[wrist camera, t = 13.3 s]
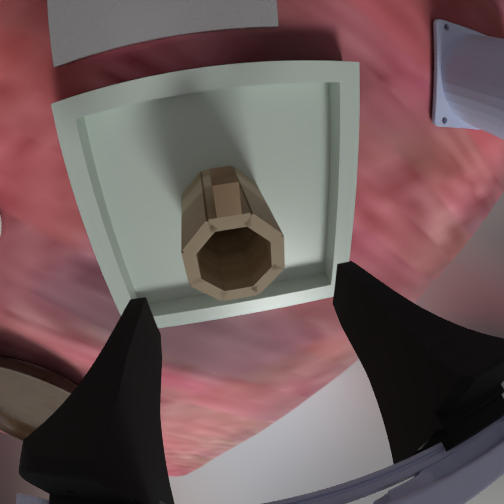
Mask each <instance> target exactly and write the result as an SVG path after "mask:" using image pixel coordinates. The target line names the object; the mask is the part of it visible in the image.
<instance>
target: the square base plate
mask: <svg viewBox="0 0 504 504" xmlns="http://www.w3.org/2000/svg"><path fill="white" fill-rule="evenodd" d="M47 6H48V21H49V32H50V42H51V50H52V58H53V65H54V67H60V66H63V65H66V64H68V63H71V62H74V61H77V60H80V59H84V58H87V57H90V56H93V55H97V54H100V53H104V52H107V51H111V50H115V49H119V48H123V47H127V46H131V45H135V44H140V43H144V42H149V41H154V40H159V39H165V38H170V37H176V36H182V35H189V34H196V33H204V32H213V31H223V30H235V29H251V28H275V27H278V14H277V2H276V0H47Z"/></svg>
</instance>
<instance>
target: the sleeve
mask: <svg viewBox="0 0 504 504" xmlns="http://www.w3.org/2000/svg"><path fill="white" fill-rule="evenodd" d="M181 254H182V258H183V262H184V266H185V270H186V275H187V279H188V283H189V284H190V286H191V287H193V288H195V289H197V290H199V291H201V292H203V293H205V294H207V295H209V296H211V297H213V298H215V299H217V300H219V301H221V300H222V301H227V300H233V299H239V298H244V297H250V296H255V295H258V293H259V294H260V293H261V292H262V291H263V290H264V289H265V288H266V287H267V286H268V285H269V284H270V283H271V282H272V281H273V280H274V279H275V278H276V277H277V276H278V275H279V274H280V273H281V272H282V271H283V270H284V269H283V268H285V255H284V235H283V233H282V231H281V229H280V227H279V226H278V224H277V222H276V220H275V218H274V216H273V214H272V212H271V210H270V208H269V207H268V205H267V203H266V201H265V199H264V197H263V195H262V193H261V191H260V190H259V188H258V186H257V184H256V183H255V182H254V181H253V180H251V179H250V178H249V177H247V176H246V175H245V174H243V173H242V172H240V171H239V170H238V169H236V168H235V167H234V166H233V167H232V166H225V167H218V168H212V169H208V170H202V173H201V172H199V173H198V175H197V176H196V177H195V178H194V180H193V181H192V182H191V184H190V185H189V186H188V188H187V189H186V190H185V191H184V193H183V194H182V220H181Z"/></svg>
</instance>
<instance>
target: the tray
mask: <svg viewBox="0 0 504 504" xmlns="http://www.w3.org/2000/svg"><path fill="white" fill-rule="evenodd" d="M359 105H360V80H359V62H350V61H331V60H283V61H261V62H246V63H235V64H225V65H216V66H207V67H200V68H193V69H186V70H180V71H174V72H168V73H163V74H158V75H153V76H148V77H143V78H139V79H134V80H130V81H126V82H121V83H117V84H113V85H110V86H106V87H102V88H99V89H95V90H92V91H88V92H85V93H82V94H78V95H75V96H72V97H69V98H66V99H63V100H60V101H58V102H55V103H52V104H51V106H52V111H53V116H54V120H55V125H56V129H57V134H58V138H59V142H60V146H61V150H62V154H63V158H64V161H65V165H66V169H67V172H68V176H69V179H70V183H71V186H72V189H73V193H74V196H75V199H76V202H77V205H78V208H79V211H80V214H81V217H82V220H83V223H84V226H85V229H86V232H87V234H88V237H89V240H90V243H91V245H92V248H93V251H94V253H95V256H96V258H97V261H98V263H99V266H100V268H101V271H102V273H103V276H104V278H105V281H106V283H107V285H108V288H109V290H110V292H111V295H112V297H113V299H114V301H115V304H116V306H117V308H118V310H119V313H120V315H122V313H123V311H124V310H125V308H126V306H127V304H128V302H129V301H130V299H136V298H142V297H146V299H147V301H148V304H149V307H150V309H151V312H152V314H153V317H154V320H155V322H156V325H157V327H158V328H163V327H170V326H177V325H183V324H190V323H196V322H203V321H209V320H215V319H221V318H226V317H232V316H238V315H243V314H249V313H254V312H260V311H265V310H270V309H275V308H281V307H286V306H291V305H296V304H300V303H305V302H310V301H315V300H320V299H324V298H329V297H333V296H334V289H335V280H336V270H337V264H339V263H345V262H349V257H350V248H351V239H352V230H353V219H354V208H355V196H356V182H357V166H358V145H359ZM225 166H232V167H233V166H234V167H235V168H236V169H238V170H239V171H240V172H242V173H243V174H245V175H246V176H247V177H249V178H250V179H251V180H253V181H254V182H255V183H256V184H257V186H258V188H259V190H260V191H261V193H262V195H263V197H264V199H265V201H266V203H267V205H268V207H269V208H270V210H271V212H272V214H273V216H274V218H275V220H276V222H277V224H278V226H279V227H280V229H281V231H282V233H283V235H284V255H285V268H283V269H284V270H283V271H282V272H281V273H280V274H279V275H278V276H277V277H276V278H275V279H274V280H273V281H272V282H271V283H270V284H269V285H268V286H267V287H266V288H265V289H264V290H263V291H262V292H261V293H260V294H259V293H258V295H255V296H250V297H244V298H239V299H233V300H227V301H222V300H221V301H219V300H217V299H215V298H213V297H211V296H209V295H207V294H205V293H203V292H201V291H199V290H197V289H195V288H193V287H191V286H190V284H189V283H188V279H187V275H186V270H185V266H184V262H183V258H182V254H181V220H182V194H183V193H184V191H185V190H186V189H187V188H188V186H189V185H190V184H191V182H192V181H193V180H194V178H195V177H196V176H197V175H198V173H199V172H201V173H202V170H208V169H212V168H218V167H225Z"/></svg>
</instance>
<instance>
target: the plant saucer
mask: <svg viewBox="0 0 504 504" xmlns="http://www.w3.org/2000/svg"><path fill="white" fill-rule="evenodd" d="M77 386H78V385H76V384H75V383H73V382H71V381H70V380H68V379H66V378H65V377H63V376H61V375H59V374H57V373H55V372H52V371H50V370H48V369H46V368H43V367H41V366H38V365H35V364H32V363H29V362H25V361H21V360H17V359H11V358H2V357H0V430H1V431H3V432H5V433H7V434H9V435H10V436H12V437H14V438H17V439H19V440H21V441H23V440H24V439H25V438H26V437H27V436H29V435H30V434H31V433H32V432H33V431H34V430H36V429H37V428H38V427H39V426H40V425H41V424H43V423H44V422H45V421H46V420H47V419H48V418H49V417H50V416H51V415H52V414H53V413H54V412H55V411H56V410H57V409H58V408H59V407H60V406H61V405H62V404H63V402H64V401H65V400H66V399H67V398H68V397H69V395H70V394H71V393H72V392H73V391H74V390H75V388H76V387H77Z"/></svg>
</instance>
